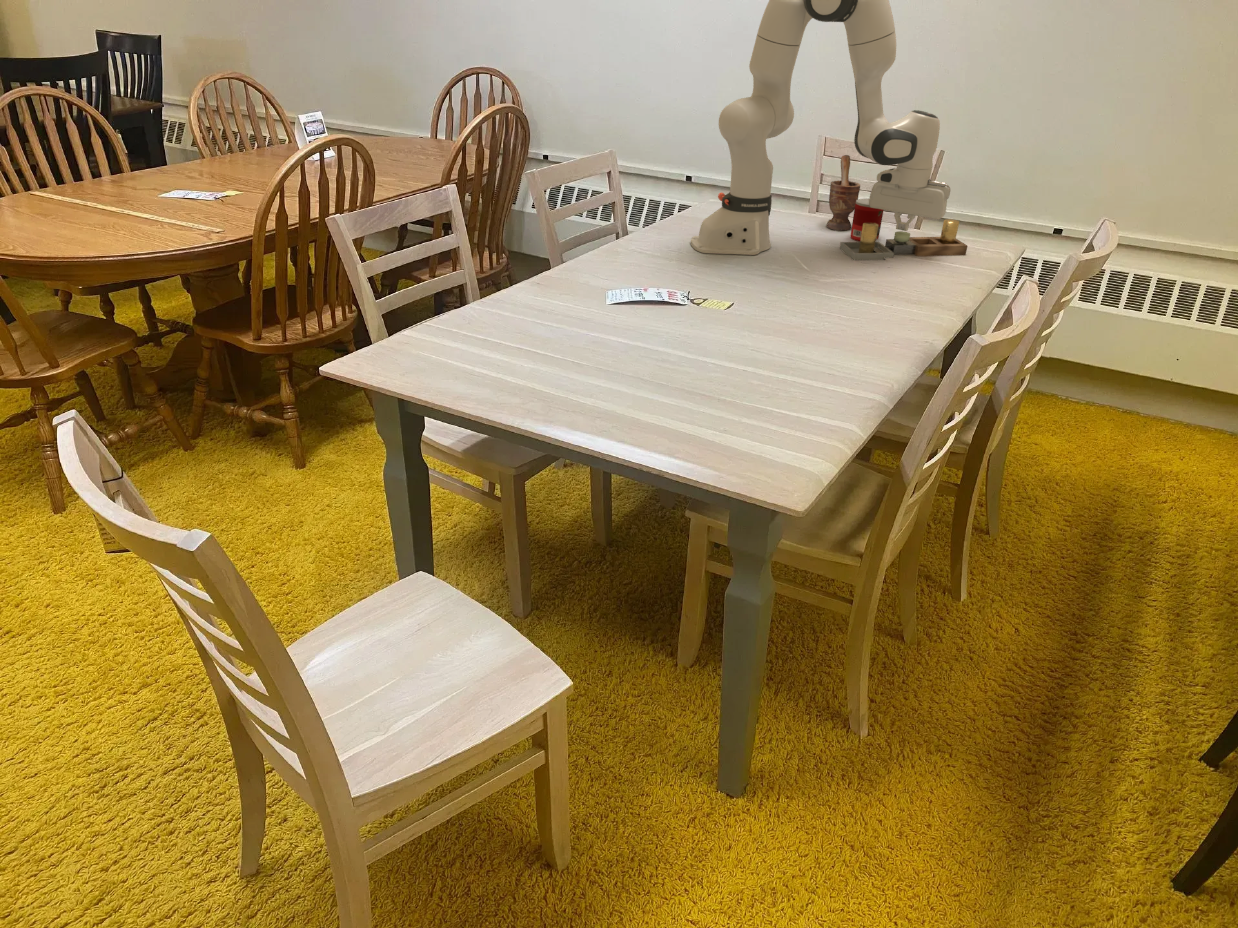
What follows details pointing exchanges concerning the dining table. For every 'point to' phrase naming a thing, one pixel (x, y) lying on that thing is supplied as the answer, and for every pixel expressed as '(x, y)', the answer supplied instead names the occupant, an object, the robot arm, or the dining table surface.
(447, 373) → the dining table surface
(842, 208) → the mortar and pestle
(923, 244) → the wooden compartment tray
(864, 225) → the billet
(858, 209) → the canned food
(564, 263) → the dining table surface
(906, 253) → the button housing
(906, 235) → the button
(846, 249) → the grey square tray
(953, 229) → the billet seated
